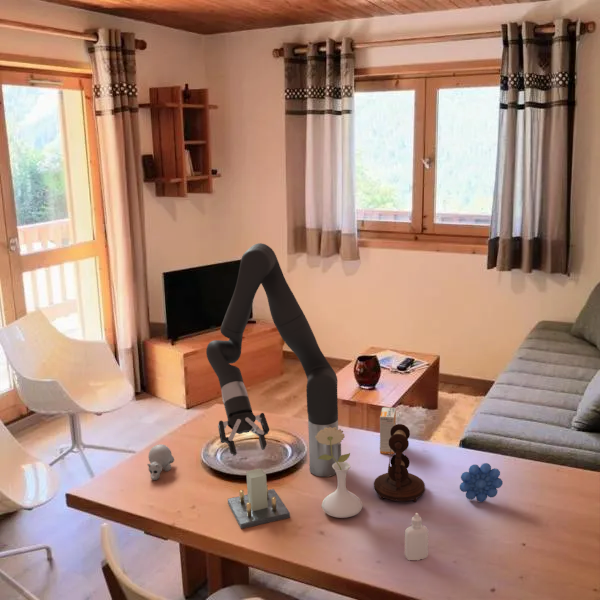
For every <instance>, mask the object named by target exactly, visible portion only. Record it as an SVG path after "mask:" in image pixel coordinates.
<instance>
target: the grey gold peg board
mask: <svg viewBox="0 0 600 600" xmlns="http://www.w3.org/2000/svg"><path fill="white" fill-rule="evenodd" d="M267 502H268V508H264V509H260V510H256V511H252V509H251V503H250V502H248V493H247V494H245V491H244V489H240V490H239V496H234V497H231V498H227V504H228V507H229V509H230V511H231V513H232V514H233V516H234V518H235V520H236V522H237V524H238V527H240V529H241V530H243V529H247V528H251V527H256V526H260V525H263V524H268V523H272V522H276V521H277V522H278V521H281V520H286V519H290V518H291V514H290V511H289V509H288V507H286V505H285V503H284V502H283V500H282V499H281V498H280V495H278V493H277V491H276V490H275V489H274V488H271V489H269V485H268V484H267ZM246 527H247V528H246ZM242 528H243V529H242Z"/></svg>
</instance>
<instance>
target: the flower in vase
mask: <svg viewBox="0 0 600 600" xmlns="http://www.w3.org/2000/svg"><path fill="white" fill-rule="evenodd" d="M343 432H344V431H343V430H342V429H340V428H338V430H336V427H334V428H331V427H329V428H324V430H320V431H319V432H318V433H317V436H315V438H316V440H317V441H318V442H319V443H321V444H326V445H330V446H331V455H332V445H333V444H337V443H342V441H344V439H345V434H344V433H343ZM350 456H351V453H350V452H349V453H346V454H345V453H344V454H341V456H340V458H339V459H338V462H337V461H336V459H335V458H334V457H333V455H332V456H330V455H326V454H325V455H321V456H320V457H319V458H318V459H322V460H330V459H331V458H332V457H333V459H334V460H335V461H336V463H334V464H333V465H332V467H333V469H334V470H335V472H336V474H335V475H336V478H337V488H336V489H335V490H334V491H333V492H331V493H330V494H328V495H327V496H325V497H324V499H323V501H322V502H321V509H322V510H323V512H324V513H325V514H327V515H328V516H331V517H334V518H341V519H343V518H344V519H345V518H351V517H354V516H356V515H358V514H359V513H360V512H361V511H362V509H363V502H362V499H360V497H358V496H357V495H356V494H354V493H353V492H351V491H349V490H348V488H347V487H346V486H347V483H346V481H347V475H348V471H349V469H350V468H351V464H350V463H349V462H346V461H347V460H348V459H349V458H350Z"/></svg>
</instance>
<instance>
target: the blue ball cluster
mask: <svg viewBox="0 0 600 600" xmlns="http://www.w3.org/2000/svg"><path fill="white" fill-rule="evenodd" d="M500 476H501V471H500V469H498V468H492V466H491V464H489V463H487V462H484V463H482V464H481V465H480V466H479V464H471V465H470V466H469V468H468V471H464V472H463V473H461V475H460V479H461V481H462V482H460V485H459V490H460V491H461V492H463V493H465V497H466V499H467V500H474V499H476V501H478V502H479V503H483V502H485V501H486V500H487V498H495V497H497V495H498V489H500V488H501V487H502V486H503V479H501V478H499V477H500Z"/></svg>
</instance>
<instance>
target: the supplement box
mask: <svg viewBox="0 0 600 600" xmlns="http://www.w3.org/2000/svg"><path fill="white" fill-rule="evenodd" d="M396 411H397V408H396V407H382V408H381V411H380V416H379V454H382V455H383V454H385V455H386V454H387V455H390V446H389V439H390V437H391V434H390V431H391V428H392V427H393V426H394V425H396V423H397V412H396ZM394 454H395V453H394V451H393V450H392V449H391V455H394Z"/></svg>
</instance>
